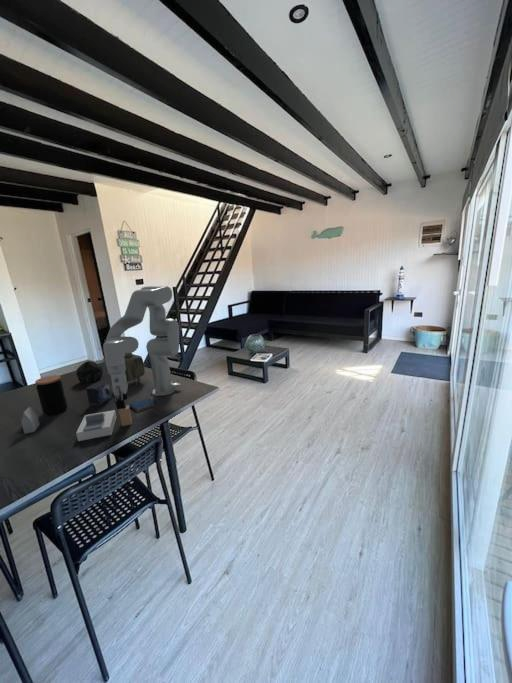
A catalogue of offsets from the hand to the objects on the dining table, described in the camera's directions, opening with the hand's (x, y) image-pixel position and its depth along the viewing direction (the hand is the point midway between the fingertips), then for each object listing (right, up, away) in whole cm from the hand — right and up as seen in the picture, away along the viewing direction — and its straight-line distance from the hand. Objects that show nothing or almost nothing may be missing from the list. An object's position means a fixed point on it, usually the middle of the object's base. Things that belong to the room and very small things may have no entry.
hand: (122, 403), depth 133 cm
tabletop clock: (-16, +2, +50) cm, 53 cm away
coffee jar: (-43, -8, +19) cm, 48 cm away
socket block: (-11, -11, 0) cm, 15 cm away
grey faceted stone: (-43, -12, +3) cm, 45 cm away
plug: (+1, -10, +3) cm, 10 cm away
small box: (-24, -5, +27) cm, 36 cm away
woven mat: (+2, -6, +20) cm, 21 cm away
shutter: (-9, -8, -6) cm, 14 cm away
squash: (-47, +2, +58) cm, 75 cm away
